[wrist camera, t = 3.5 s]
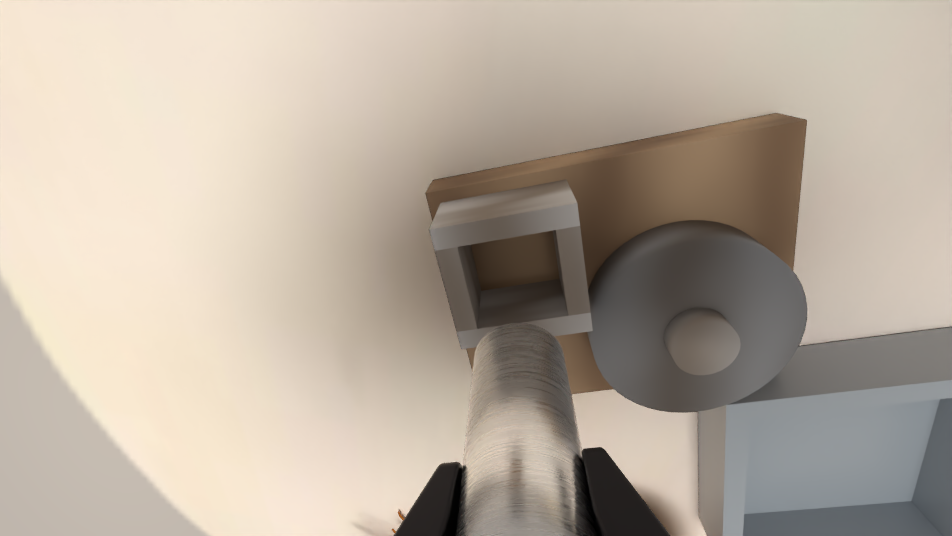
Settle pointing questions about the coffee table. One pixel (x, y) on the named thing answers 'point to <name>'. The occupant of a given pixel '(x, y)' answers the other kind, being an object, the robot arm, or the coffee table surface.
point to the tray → (836, 444)
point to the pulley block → (638, 259)
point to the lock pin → (522, 441)
